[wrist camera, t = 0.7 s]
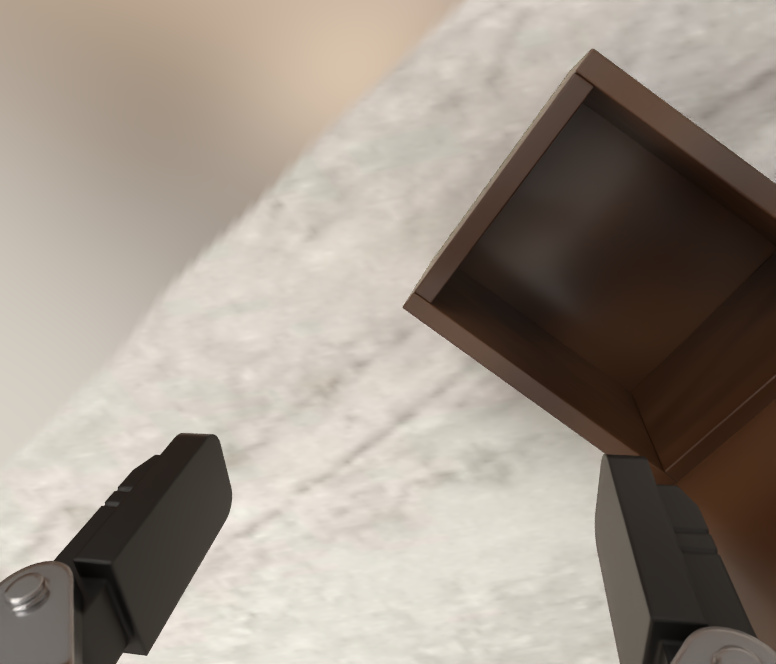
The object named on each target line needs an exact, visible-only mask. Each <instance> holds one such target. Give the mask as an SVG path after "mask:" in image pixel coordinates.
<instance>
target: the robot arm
mask: <svg viewBox="0 0 776 664" xmlns="http://www.w3.org/2000/svg"><path fill="white" fill-rule="evenodd" d="M231 503H232V489H231V485H230V481H229V476H228V472H227V468H226V464H225V460H224V456H223V452H222V448H221V444H220V441H219V439H218V437H217V436H216V435H213V434H194V433H180V434H178V435H177V436H176V437H175V438H174V439H173V440H172V442H171V443H170V444H169V445H168V446H167V448H166V449H165V450H164V451H163V452H162V454H161V455H154V456H153V457H151V458H150V459H149V460H147V461H146V462H144V463H143V464H141V465H140V466H138V467H137V468H135V469H134V470H133V471H132V472H131V473H130V474H129V475H128V476H127V478H126V479H125V480H124V481H123V482H122V483H121V484H120V486H119V487H118V490H117V491H114V492H113V494H112V495H111V496H110V497H109V498H108V499H107V500H106V502H105V506H101V507H100V508H99V510H98V511H97V512H96V513H95V514H94V515H93V516H92V518H91V519H90V520H89V521H88V522H87V523H86V524H85V526H84V527H83V528H82V529H81V530H80V531H79V532H78V534H77V535H76V536H75V537H74V538H73V539H72V540H71V542H70V543H69V544H68V545H67V546H66V547H65V548H64V550H63V551H62V552H61V553H60V554H59V555H58V556H57V558H56V559H55V560H54V561H45V562H40V563H36V564H33V565H30V566H27V567H25V568H23V569H21V570H19V571H17V572H15V573H13V574H12V575H10V576H9V577H7V578H6V579H4V580H3V581H2V582H0V664H116V663H117V661H118V660H119V658H120V656H121V655H122V653H130V654H138V655H145V656H147V655H148V653H149V651H150V650H151V648H152V646H153V644H154V643H155V641H156V639H157V638H158V636H159V634H160V632H161V631H162V629H163V627H164V626H165V624H166V622H167V620H168V619H169V617H170V615H171V614H172V612H173V610H174V608H175V607H176V605H177V603H178V601H179V600H180V598H181V596H182V595H183V593H184V591H185V589H186V588H187V586H188V584H189V583H190V581H191V579H192V577H193V576H194V574H195V572H196V571H197V569H198V567H199V565H200V564H201V562H202V560H203V559H204V557H205V555H206V553H207V552H208V550H209V548H210V547H211V545H212V543H213V541H214V540H215V538H216V536H217V535H218V533H219V531H220V529H221V528H222V526H223V524H224V523H225V521H226V519H227V517H228V515H229V512H230V508H231ZM595 537H596V546H597V552H598V557H599V562H600V567H601V572H602V576H603V581H604V586H605V591H606V596H607V601H608V606H609V611H610V616H611V621H612V626H613V631H614V636H615V641H616V646H617V651H618V656H619V661H620V664H776V652H775V651H774V650H773V649H772V648H770V647H769V646H768V645H766V644H765V643H763V642H762V641H760V640H759V639H758V638H757V636H756V634H755V632H754V630H753V628H752V626H751V623H750V621H749V619H748V617H747V614H746V612H745V610H744V608H743V605H742V603H741V601H740V599H739V596H738V594H737V592H736V590H735V587H734V585H733V583H732V581H731V578H730V576H729V574H728V572H727V569H726V567H725V565H724V563H723V560H722V558H721V556H720V555H718V549H717V547H716V545H715V542H714V540H713V538H712V536H711V535H710V534H709V529H708V527H707V524H706V522H705V520H704V518H703V515H702V513H701V511H700V509H699V506H698V505H697V504H696V503H695V502H694V501H693V500H692V499H691V498H690V497H689V496H687V495H686V494H685V493H684V492H683V491H682V490H681V489H680V488H679V487H678V486H677V485H661V484H656V481H655V478H654V476H653V473H652V470H651V468H650V465H649V462H648V460H647V458H646V457H645V456H632V455H611V454H604V455H603V457H602V461H601V468H600V477H599V486H598V494H597V503H596V512H595Z"/></svg>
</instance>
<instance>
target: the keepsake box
mask: <svg viewBox="0 0 776 664" xmlns="http://www.w3.org/2000/svg"><path fill="white" fill-rule="evenodd" d="M403 308H404V309H405V310H406V311H408V312H409V313H411V314H412V315H413V316H415V317H416V318H418V319H419V320H420V321H422V322H423V323H424V324H426V325H427V326H429V327H430V328H431V329H433V330H434V331H436V332H437V333H438V334H440V335H441V336H443V337H444V338H445V339H447V340H448V341H450V342H451V343H452V344H454V345H455V346H456V347H458V348H459V349H461V350H462V351H463V352H465V353H466V354H468V355H469V356H470V357H472V358H473V359H475V360H476V361H477V362H479V363H480V364H482V365H483V366H484V367H486V368H487V369H488V370H490V371H491V372H493V373H494V374H495V375H497V376H498V377H500V378H501V379H502V380H504V381H505V382H507V383H508V384H509V385H511V386H512V387H514V388H515V389H516V390H518V391H519V392H520V393H522V394H523V395H525V396H526V397H527V398H529V399H530V400H532V401H533V402H534V403H536V404H537V405H539V406H540V407H541V408H543V409H544V410H546V411H547V412H548V413H550V414H551V415H552V416H554V417H555V418H557V419H558V420H559V421H561V422H562V423H564V424H565V425H566V426H568V427H569V428H571V429H572V430H573V431H575V432H576V433H577V434H579V435H580V436H582V437H583V438H584V439H586V440H587V441H589V442H590V443H591V444H593V445H594V446H596V447H597V448H598V449H600V450H601V451H603V452H604V453H605V454H611V455H632V456H645V457H646V458H647V460H648V462H649V465H650V468H651V470H652V473H653V476H654V478H655V481H656V484H661V485H675V484H676V483H677V482H678V481H679V480H681V479H682V478H683V477H684V476H685V475H687V474H688V473H689V472H690V471H691V470H692V469H694V468H695V467H696V466H697V465H698V464H700V463H701V462H702V461H703V460H704V459H705V458H707V457H708V456H709V455H710V454H711V453H713V452H714V451H715V450H716V449H717V448H718V447H720V446H721V445H722V444H723V443H724V442H726V441H727V440H728V439H729V438H730V437H731V436H733V435H734V434H735V433H736V432H737V431H739V430H740V429H741V428H742V427H743V426H744V425H746V424H747V423H748V422H749V421H750V420H752V419H753V418H754V417H755V416H756V415H757V414H759V413H760V412H761V411H762V410H763V409H765V408H766V407H767V406H768V405H769V404H770V403H772V402H773V401H774V400H775V399H776V184H775V183H774V182H773V181H771V180H770V179H769V178H767V177H766V176H764V175H763V174H762V173H760V172H759V171H758V170H756V169H755V168H754V167H752V166H751V165H750V164H748V163H747V162H746V161H744V160H743V159H742V158H740V157H739V156H738V155H736V154H735V153H734V152H732V151H731V150H729V149H728V148H727V147H725V146H724V145H723V144H721V143H720V142H719V141H717V140H716V139H715V138H713V137H712V136H711V135H709V134H708V133H707V132H705V131H704V130H703V129H701V128H700V127H699V126H697V125H696V124H694V123H693V122H692V121H690V120H689V119H688V118H686V117H685V116H684V115H682V114H681V113H680V112H678V111H677V110H676V109H674V108H673V107H672V106H670V105H669V104H668V103H666V102H665V101H663V100H662V99H661V98H659V97H658V96H657V95H655V94H654V93H653V92H651V91H650V90H649V89H647V88H646V87H645V86H643V85H642V84H641V83H639V82H638V81H637V80H635V79H634V78H633V77H631V76H630V75H628V74H627V73H626V72H624V71H623V70H622V69H620V68H619V67H618V66H616V65H615V64H614V63H612V62H611V61H610V60H608V59H607V58H606V57H604V56H603V55H602V54H600V53H599V52H598V51H596V50H595V49H591V50H590V51H589V52H588V53H587V54H586V55H585V56H584V57H583V58H582V59H581V60H580V61H579V62H578V63H577V64H576V65H575V66H574V67H573V68H572V69H571V70H570V71H569V73H568V74H567V76H566V77H565V78H564V80H563V81H562V82H561V84H560V85H559V87H558V88H557V89H556V91H555V92H554V93H553V95H552V96H551V98H550V99H549V100H548V102H547V103H546V104H545V106H544V107H543V109H542V110H541V111H540V113H539V114H538V115H537V117H536V118H535V120H534V121H533V122H532V124H531V125H530V126H529V128H528V129H527V131H526V132H525V133H524V135H523V136H522V137H521V139H520V140H519V142H518V143H517V144H516V146H515V147H514V148H513V150H512V151H511V153H510V154H509V155H508V157H507V158H506V159H505V161H504V162H503V164H502V165H501V166H500V168H499V169H498V170H497V172H496V173H495V175H494V176H493V177H492V179H491V180H490V181H489V183H488V184H487V186H486V187H485V188H484V190H483V191H482V193H481V194H480V195H479V197H478V198H477V199H476V201H475V202H474V204H473V205H472V206H471V208H470V209H469V210H468V212H467V213H466V215H465V216H464V217H463V219H462V220H461V221H460V223H459V224H458V226H457V227H456V228H455V230H454V231H453V232H452V234H451V235H450V237H449V238H448V239H447V241H446V242H445V243H444V245H443V246H442V248H441V249H440V250H439V252H438V253H437V254H436V256H435V257H434V259H433V260H432V261H431V263H430V264H429V266H428V268H427V269H426V271H425V272H424V274H423V275H422V277H421V279H420V280H419V282H418V283H417V285H416V287H415V288H414V290H413V291H412V293H411V294H410V296H409V298H408V299H407V301H406V302H405V304H404V305H403Z"/></svg>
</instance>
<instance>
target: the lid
mask: <svg viewBox="0 0 776 664" xmlns="http://www.w3.org/2000/svg"><path fill="white" fill-rule="evenodd" d="M675 485H677V486H678V487H679V488H680V489H681V490H682V491H683V492H684V493H685V494H686V495H687V496H689V497H690V498H691V499H692V500H693V501H694V502H695V503H696V504H697V505H698V506H699V509H700V511H701V513H702V515H703V518H704V520H705V522H706V524H707V527H708V529H709V534H710V535H711V536H712V538H713V540H714V542H715V545H716V547H717V549H718V555H720V556H721V558H722V560H723V563H724V565H725V567H726V569H727V572H728V574H729V576H730V578H731V581H732V583H733V585H734V587H735V590H736V592H737V594H738V596H739V599H740V601H741V603H742V605H743V608H744V610H745V612H746V614H747V617H748V619H749V621H750V623H751V626H752V628H753V630H754V632H755V634H756V636H757V638H758V639H759V640H760V641H762V642H763V643H765V644H766V645H768V646H769V647H770V648H772V649H773V650H774V651H775V652H776V399H775V400H774V401H773V402H772V403H770V404H769V405H768V406H767V407H766V408H765V409H763V410H762V411H761V412H760V413H759V414H757V415H756V416H755V417H754V418H753V419H752V420H750V421H749V422H748V423H747V424H746V425H744V426H743V427H742V428H741V429H740V430H739V431H737V432H736V433H735V434H734V435H733V436H731V437H730V438H729V439H728V440H727V441H726V442H724V443H723V444H722V445H721V446H720V447H718V448H717V449H716V450H715V451H714V452H713V453H711V454H710V455H709V456H708V457H707V458H705V459H704V460H703V461H702V462H701V463H700V464H698V465H697V466H696V467H695V468H694V469H692V470H691V471H690V472H689V473H688V474H687V475H685V476H684V477H683V478H682V479H681V480H679V481H678V482H677V483H676V484H675Z"/></svg>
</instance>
